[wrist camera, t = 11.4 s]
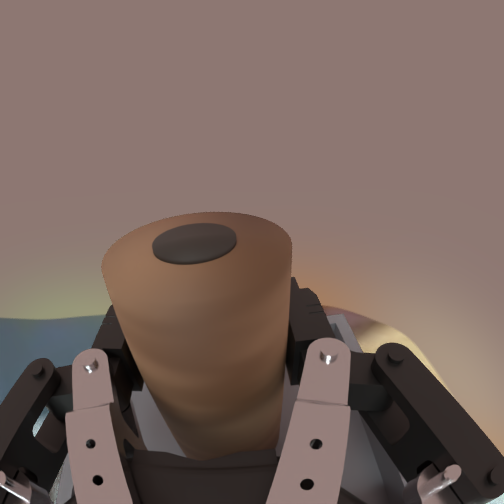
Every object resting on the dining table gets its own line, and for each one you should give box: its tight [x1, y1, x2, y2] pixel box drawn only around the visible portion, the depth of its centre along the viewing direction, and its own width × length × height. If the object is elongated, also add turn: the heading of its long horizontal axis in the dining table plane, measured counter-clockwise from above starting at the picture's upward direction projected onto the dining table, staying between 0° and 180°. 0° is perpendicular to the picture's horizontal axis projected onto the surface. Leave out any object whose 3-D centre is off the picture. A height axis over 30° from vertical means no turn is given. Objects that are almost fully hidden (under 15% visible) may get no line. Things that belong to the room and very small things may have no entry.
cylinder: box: [101, 212, 292, 461], centre depth 10 cm, size 5×5×10 cm
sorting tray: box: [56, 314, 407, 504], centre depth 12 cm, size 16×14×3 cm
